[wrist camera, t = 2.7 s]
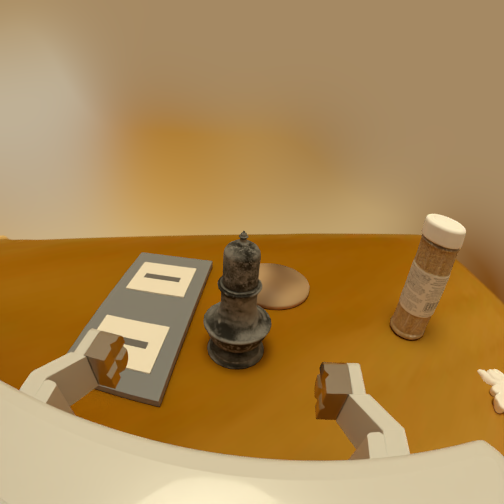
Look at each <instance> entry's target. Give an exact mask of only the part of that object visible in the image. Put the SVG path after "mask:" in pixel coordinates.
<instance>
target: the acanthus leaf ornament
mask: <svg viewBox="0 0 504 504" xmlns="http://www.w3.org/2000/svg"><path fill="white" fill-rule="evenodd" d="M477 372H478V373H479V375H480V376H481V377H482V379H483V380H484V381H485V382H486V383H487V384H489V385H492V387H491V389H490V394H491V395H492V396H493V397H494V401H493V403H494V409H495V411H496V412H497V413H499V414H500V413H503V412H504V374H503V373H501V372H500V371H498V370H496V369H493V370H492V369H489V370H488V371H487V372H486V371H484V370H481V369H479V370H478V371H477Z"/></svg>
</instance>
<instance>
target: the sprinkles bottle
mask: <svg viewBox="0 0 504 504" xmlns="http://www.w3.org/2000/svg"><path fill="white" fill-rule="evenodd" d="M422 233H423V234H422V238H421V241H420V244H419V247H418V251H417V253H416V256H415V259H414V261H413V263H412V266H411V269H410V272H409V275H408V277H407V280H406V283H405V286H404V288H403V291H402V294H401V296H400V300H399V303H398V305H397V308H396V310H395V313H394V315H393V316H392V318H391V321H390V325H391V327H392V329H393V330H394V332H395V333H396V334H398V335H399V336H401V337H403V338H405V339H409V340H414V339H418V338H420V337H422V336H423V334H424V332H425V328H426V326H427V324H428V322H429V319H430V318H431V316H432V315H433V313H434V311H435V309H436V307H437V304H438V302H439V300H440V298H441V296H442V293H443V291H444V289H445V286H446V284H447V281H448V279H449V276H450V272H451V270H452V267H453V264H454V262H455V259H456V256H457V253H458V252H459V250H460V248H461V247H462V244H463V241H464V238H465V234H466V229H465V228H464V227H463V226H462V225H461V224H460V223H459V222H457V221H455V220H453V219H451V218H448V217H445V216H443V215H438V214H429V215H427V216H426V219H425V222H424V225H423V229H422Z"/></svg>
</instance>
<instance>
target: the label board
mask: <svg viewBox="0 0 504 504" xmlns="http://www.w3.org/2000/svg"><path fill="white" fill-rule="evenodd" d="M211 268H212V261H207V260H198V259H190V258H182V257H174V256H166V255H158V254H150V253H141V254H140V256H139V257H138V258H137V259H136V261H135V262H134V263H133V264H132V266H131V267H130V268H129V269H128V271H127V272H126V273H125V274H124V276H123V277H122V278H121V280H120V281H119V282H118V283H117V285H116V286H115V287H114V289H113V290H112V291H111V293H110V294H109V295H108V297H107V298H106V299H105V301H104V302H103V303H102V305H101V306H100V307H99V309H98V310H97V312H96V313H95V314H94V316H93V317H92V318H91V320H90V321H89V323H88V324H87V325H86V327H85V328H84V330H83V331H82V333H81V334H80V335H79V337H78V338H77V340H76V341H75V343H74V344H73V346H72V347H71V348H70V350H69V351H68V353H70V352H74V351H75V350H76V348H77V347H78V345H79V344H80V343H81V341H82V340H83V338H84V337H85V335H86V334H87V332H88V331H89V330H90V329H92V328H93V329H97V330H101V331H105V332H109V333H113V334H117V335H121V336H123V338H124V341H125V343H124V345H123V346H124V347H125V348H126V349H127V351H128V363H127V366H126V368H125V370H124V371H122V372H121V373H120V376H121V378H120V380H119V382H118V384H117V386H116V388H115V389H114V388H110V387H106V386H102V385H99V384H98V386H97V387H96V388H94V389H97V390H100V391H103V392H107V393H110V394H113V395H117V396H120V397H124V398H127V399H131V400H134V401H138V402H142V403H146V404H150V405H154V406H158V407H160V405H161V402H162V400H163V397H164V394H165V391H166V388H167V385H168V383H169V380H170V377H171V374H172V372H173V369H174V366H175V363H176V361H177V358H178V355H179V352H180V350H181V347H182V344H183V342H184V339H185V336H186V333H187V331H188V328H189V326H190V323H191V320H192V318H193V315H194V312H195V310H196V307H197V304H198V302H199V299H200V297H201V294H202V291H203V289H204V286H205V284H206V281H207V279H208V276H209V274H210V271H211ZM68 353H67V354H68Z"/></svg>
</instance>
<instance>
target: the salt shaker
mask: <svg viewBox="0 0 504 504" xmlns="http://www.w3.org/2000/svg"><path fill="white" fill-rule="evenodd" d="M239 237H240V238H241V239H239V240H235V241H233V242H230V243H229V244H228V245H227V246H226V247H225V250H224V260H223V276H222V277H221V278H220V279H219V280H218V288H219V289H220V291H221V302H219V303H217V304H215V305H213V306H212V307H211V308H209V309H208V310H207V312H206V314H205V315H204V326H205V329H206V330H207V332H208V334H209V336H210V337H211V338H210V340H209V342H208V347H207V349H208V353H209V355H210V357H211V359H212V360H213V361H215V362H216V363H217V364H219V365H221V366H223V367H226V368H229V369H244V368H248V367H251V366H253V365H255V364H256V363H257V362H259V360H260V359H261V358H262V355H263V352H264V347H263V344H262V342H261V341H262V340H263V339H264V338H265V336H266V335H267V334H268V332H269V331H270V328H271V319H270V317H269V315H268V313H267V312H266V311H265V310H264V309H263V308H261V307H260V306H258V305H257V295H258V294H259V293H260V292H261V290H262V283H261V281H260V280H259V279H258V277H259V268H260V259H261V253H260V249H259V248H258V246H257V245H256V244H254V243H253V242H251V241H248V240H246V238H248V235H247V234H246V233H245V231H243V232H242V233H241V234H240V235H239Z"/></svg>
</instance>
